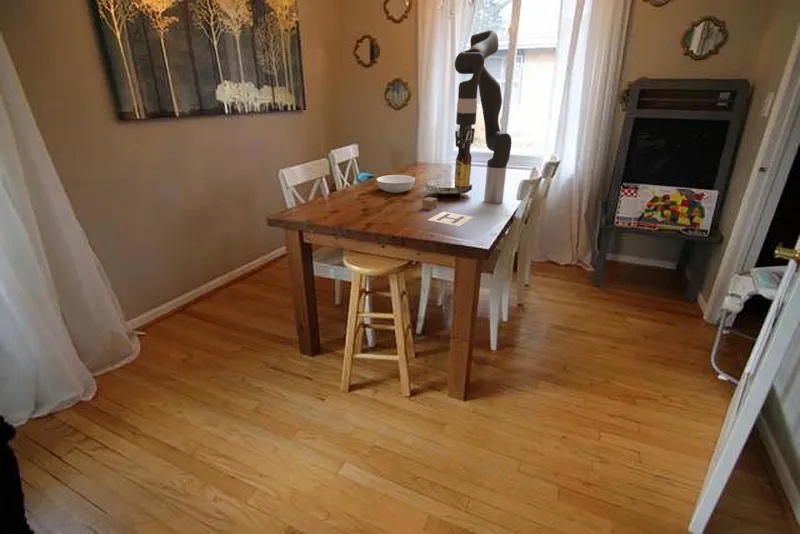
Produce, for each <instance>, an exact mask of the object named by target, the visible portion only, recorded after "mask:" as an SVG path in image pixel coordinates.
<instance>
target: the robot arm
mask: <svg viewBox="0 0 800 534" xmlns="http://www.w3.org/2000/svg"><path fill="white" fill-rule="evenodd" d="M469 42H470V47H469V49H466V50H463V51H461V52H459V54H457V56H456V57H455V61H454V68H455V70H456V72H457V73H458V74H461V75H472V77H471V78H470V79H468V80H464V81H461V82H459V84H458V94H457V98H458V99H457V103H456V118H455V119H456V121H455V123H456V125H457V126H458V125H459V128H458V130H455V134H454V135H455V147H457V148H458V153H457V155H458V157H459V158H463V157H464V147H465V143H466V142H467V139H471V141H470V147H469V149H470V150H469V152H470V153H471V146H472V144H473V143H474V137H475V131H476V128H474V127H472V126H474V125H476V123H477V122H476V121H477V111H478V110H477V109H478V101H477V100H478V91H479V99H480V104H481V108H482V110H481V111H482V115H483V121H484V122H483V123H484V132H485V134H484V135H485V136H484V137H485V144H486V148H487V149H488V150H490V151H492V152H493V155H492V157H491V158H490V159H488V160H487V164H486V175H485V183H484V185H485V186H484V195H483V197H484V198H483V202H485V203H488V204H501V203H503V202H502V201H504V200H503V199H504V193H505V192H504V191H505V184H506V183H505V182H506V176H507V175H506V173H507V165H508V162H509V160H510V157H511V156H510V155H511V148H512V137H511V135H510V134H509V133H508V132H503V131H501V129H500V124H499V116H500V113H501V109H502V104H503V97H502V92H501V91H502V90H501V86H500V83H499V82H498V81H497V80H496V78H495V77H494V76H493V75H492V74H491V72H489V70H488V69H487V67H486V66H485V62H486V59H487V58H488V57H489V56H490V57H491V56H492V55H494V54H496V53H497V52H498V51H499V50H498V49H499V37H498V33H497V32H496V31H495V30H493V29H490V30H489V29H488V30H485V31H482V32H479V33H478V32H477V33H475V34H472V35H471V36H470V40H469ZM463 139H464V140H463Z"/></svg>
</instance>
